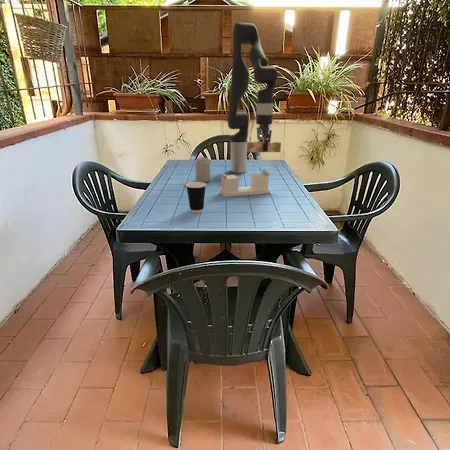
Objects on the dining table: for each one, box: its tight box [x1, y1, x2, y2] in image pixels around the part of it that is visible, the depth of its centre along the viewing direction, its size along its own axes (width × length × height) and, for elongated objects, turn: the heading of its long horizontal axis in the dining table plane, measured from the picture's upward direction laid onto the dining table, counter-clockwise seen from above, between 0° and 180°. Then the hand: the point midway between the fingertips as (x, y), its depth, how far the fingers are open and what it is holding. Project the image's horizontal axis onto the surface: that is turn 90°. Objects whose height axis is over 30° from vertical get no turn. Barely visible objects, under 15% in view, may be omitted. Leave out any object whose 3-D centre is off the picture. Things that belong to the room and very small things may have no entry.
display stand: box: [219, 169, 271, 198], centre depth 162 cm, size 22×8×10 cm, turn 104°
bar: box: [247, 140, 282, 153], centre depth 168 cm, size 16×4×4 cm, turn 90°
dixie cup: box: [185, 181, 207, 214], centre depth 139 cm, size 8×8×11 cm
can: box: [194, 157, 211, 183], centre depth 182 cm, size 8×8×12 cm
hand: (263, 150), depth 169 cm, fingers closed on bar, 4 cm apart
